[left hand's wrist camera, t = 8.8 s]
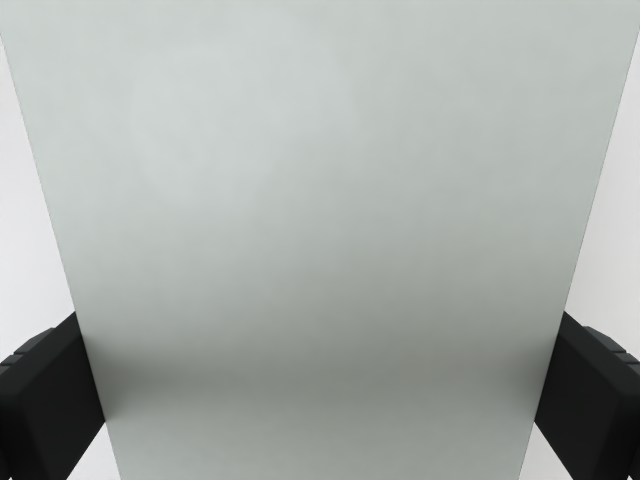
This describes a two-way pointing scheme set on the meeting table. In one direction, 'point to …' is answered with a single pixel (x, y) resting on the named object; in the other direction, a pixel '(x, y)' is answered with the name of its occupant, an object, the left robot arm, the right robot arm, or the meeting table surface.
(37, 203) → the meeting table surface
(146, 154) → the pale grey box
